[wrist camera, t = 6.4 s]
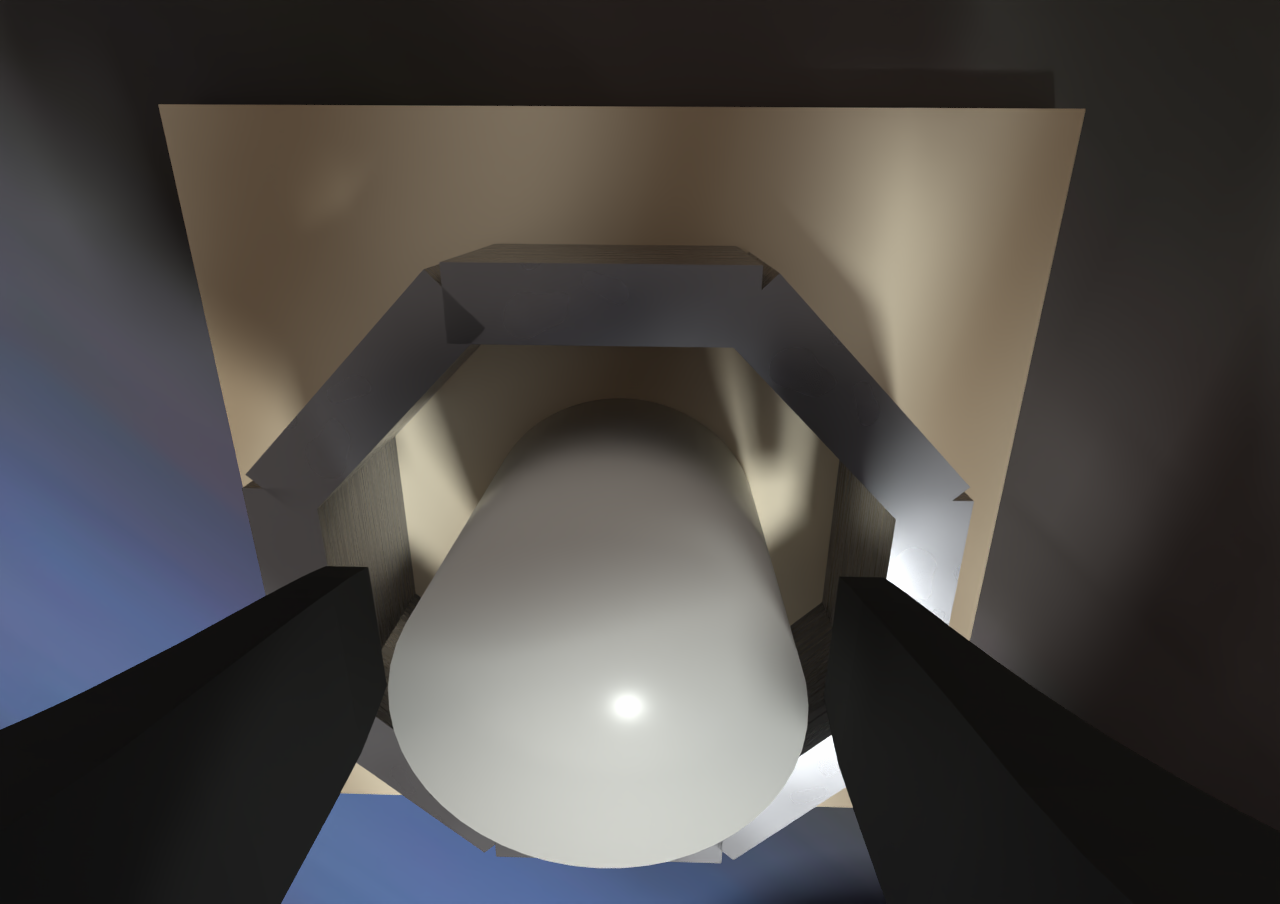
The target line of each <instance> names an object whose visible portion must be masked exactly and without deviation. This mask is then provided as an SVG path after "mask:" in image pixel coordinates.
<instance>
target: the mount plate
mask: <svg viewBox="0 0 1280 904" xmlns="http://www.w3.org/2000/svg"><path fill="white" fill-rule="evenodd" d="M158 106H159V110H160V115H161V119H162V124H163V128H164V133H165V137H166V142H167V146H168V151H169V155H170V160H171V164H172V169H173V173H174V178H175V182H176V187H177V191H178V196H179V200H180V205H181V209H182V214H183V218H184V223H185V227H186V232H187V236H188V241H189V245H190V250H191V254H192V259H193V263H194V268H195V272H196V277H197V281H198V286H199V290H200V295H201V299H202V304H203V308H204V313H205V317H206V322H207V326H208V331H209V335H210V340H211V344H212V349H213V353H214V358H215V362H216V367H217V371H218V376H219V380H220V385H221V389H222V394H223V398H224V403H225V407H226V412H227V416H228V421H229V425H230V430H231V434H232V439H233V443H234V448H235V452H236V457H237V461H238V466H239V470H240V475H241V479H242V484H243V487H244V486H246V485H247V484H249V483H250V482H251V481H253V480H251V479H250V478H249V477H248V476H246V475H245V474H246V473H247V472H248V471H249V470H250V469H251V467H252V466H253V465H254V464H255V463H256V462H257V461H258V459H259V458H260V457H261V456H262V455H263V454H264V452H265V451H266V450H267V449H268V448H269V447H270V446H271V444H272V443H273V442H274V441H275V440H276V439H277V437H278V436H279V435H280V434H281V433H282V432H283V431H284V429H285V428H286V427H287V426H288V425H289V424H290V422H291V421H292V420H293V419H294V418H295V417H296V416H297V414H298V413H299V412H300V411H301V410H302V409H303V408H304V406H305V405H306V404H307V403H308V402H309V401H310V399H311V398H312V397H313V396H314V395H315V394H316V393H317V391H318V390H319V389H320V388H321V387H322V386H323V384H324V383H325V382H326V381H327V380H328V379H329V378H330V376H331V375H332V374H333V373H334V372H335V371H336V369H337V368H338V367H339V366H340V365H341V364H342V363H343V361H344V360H345V359H346V358H347V357H348V356H349V355H350V353H351V352H352V351H353V350H354V349H355V348H356V346H357V345H358V344H359V343H360V342H361V341H362V340H363V338H364V337H365V336H366V335H367V334H368V333H369V331H370V330H371V329H372V328H373V327H374V326H375V325H376V323H377V322H378V321H379V320H380V319H381V318H382V316H383V315H384V314H385V313H386V312H387V311H388V310H389V308H390V307H391V306H392V305H393V304H394V303H395V301H396V300H397V299H398V298H399V297H400V296H401V295H402V293H403V292H404V291H405V290H406V289H407V288H408V287H409V285H410V284H411V283H412V282H413V281H414V280H415V278H416V277H417V276H418V275H419V274H420V273H421V272H422V270H423V269H426V268H429V267H432V266H435V265H438V264H439V262H441V261H444V260H447V259H450V258H453V257H456V256H459V255H463V254H466V253H469V252H472V251H475V250H478V249H481V248H484V247H487V246H490V245H493V244H585V245H691V246H737V247H739V248H740V249H742V250H743V251H744V252H746V253H748V252H750V253H752V254H753V255H755V256H756V257H757V258H759V259H760V260H762V261H763V262H765V263H766V264H767V265H769V266H770V267H772V268H773V269H775V270H776V271H777V272H779V273H780V274H781V275H782V276H783V277H784V278H785V280H786V281H787V282H788V283H789V284H790V285H791V286H792V287H793V289H794V290H795V291H796V292H797V293H798V294H799V295H800V296H801V298H802V299H803V300H804V301H805V302H806V303H807V304H808V305H809V307H810V308H811V309H812V310H813V311H814V312H815V313H816V314H817V316H818V317H819V318H820V319H821V320H822V321H823V322H824V323H825V325H826V326H827V327H828V328H829V329H830V330H831V331H832V332H833V334H834V335H835V336H836V337H837V338H838V339H839V340H840V341H841V343H842V344H843V345H844V346H845V347H846V348H847V349H848V350H849V352H850V353H851V354H852V355H853V356H854V357H855V358H856V359H857V360H858V362H859V363H860V364H861V365H862V366H863V367H864V368H865V369H866V371H867V372H868V373H869V374H870V375H871V376H872V377H873V378H874V380H875V381H876V382H877V383H878V384H879V385H880V386H881V387H882V389H883V390H884V391H885V392H886V393H887V394H888V395H889V396H890V398H891V399H892V400H893V401H894V402H895V403H896V404H897V405H898V407H899V408H900V409H901V410H902V411H903V412H904V413H905V414H906V416H907V417H908V418H909V419H910V420H911V421H912V422H913V423H914V425H915V426H916V427H917V428H918V429H919V430H920V431H921V432H922V434H923V435H924V436H925V437H926V438H927V439H928V440H929V441H930V443H931V444H932V445H933V446H934V447H935V448H936V449H937V450H938V452H939V453H940V454H941V455H942V456H943V457H944V458H945V459H946V461H947V462H948V463H949V464H950V465H951V466H952V467H953V468H954V470H955V471H956V472H957V473H958V474H959V475H960V476H961V477H962V479H963V480H964V481H965V482H966V483H967V484H968V485H969V486H970V488H969V489H967V490H966V491H965V493H966V494H967V495H968V496H969V497H970V498H971V499H972V500H973V501H974V504H973V509H972V514H971V519H970V524H969V529H968V533H967V538H966V543H965V548H964V553H963V558H962V563H961V568H960V573H959V578H958V583H957V588H956V593H955V598H954V602H953V607H952V612H951V617H950V622H949V626H950V627H952V628H953V629H954V630H955V631H957V632H958V633H959V634H961V635H962V636H963V637H965V638H966V639H967V640H969V641H970V637H971V633H972V628H973V623H974V619H975V614H976V610H977V605H978V600H979V596H980V591H981V587H982V582H983V578H984V573H985V568H986V564H987V559H988V555H989V550H990V545H991V541H992V536H993V532H994V527H995V523H996V518H997V513H998V509H999V504H1000V500H1001V495H1002V490H1003V486H1004V481H1005V477H1006V472H1007V468H1008V463H1009V458H1010V454H1011V449H1012V445H1013V440H1014V435H1015V431H1016V426H1017V422H1018V417H1019V413H1020V408H1021V403H1022V399H1023V394H1024V390H1025V385H1026V380H1027V376H1028V371H1029V367H1030V362H1031V358H1032V353H1033V348H1034V344H1035V339H1036V335H1037V330H1038V325H1039V321H1040V316H1041V312H1042V307H1043V303H1044V298H1045V293H1046V289H1047V284H1048V280H1049V275H1050V270H1051V266H1052V261H1053V257H1054V252H1055V248H1056V243H1057V238H1058V234H1059V229H1060V225H1061V220H1062V215H1063V211H1064V206H1065V202H1066V197H1067V193H1068V188H1069V183H1070V179H1071V174H1072V170H1073V165H1074V160H1075V156H1076V151H1077V147H1078V142H1079V138H1080V133H1081V128H1082V124H1083V119H1084V115H1085V110H1086V109H1039V108H828V107H617V106H406V105H195V104H158ZM614 398H627V399H638V400H645V401H649V402H654V403H658V404H662V405H665V406H667V407H670V408H673V409H676V410H678V411H680V412H682V413H684V414H686V415H688V416H690V417H692V418H694V419H695V420H697V421H698V422H700V423H701V424H703V425H704V426H706V427H707V428H708V429H710V430H711V431H712V432H713V433H714V434H715V435H716V436H717V437H719V438H720V439H721V440H722V441H723V442H724V444H725V445H726V446H727V447H728V448H729V449H730V451H731V452H732V453H733V454H734V456H735V457H736V459H737V461H738V462H739V464H740V465H741V467H742V469H743V471H744V473H745V475H746V478H747V480H748V482H749V485H750V488H751V492H752V495H753V499H754V502H755V506H756V509H757V513H758V516H759V520H760V523H761V527H762V530H763V534H764V537H765V541H766V544H767V548H768V551H769V555H770V558H771V562H772V565H773V568H774V572H775V575H776V579H777V582H778V586H779V589H780V593H781V596H782V600H783V603H784V607H785V610H786V614H787V617H788V621H789V624H790V626H791V625H792V624H793V623H795V622H796V621H797V620H799V619H800V618H801V617H803V616H804V615H805V614H807V613H808V612H809V611H811V610H812V609H813V608H815V607H816V606H817V605H819V604H820V603H821V602H822V599H823V591H824V583H825V574H826V566H827V558H828V550H829V541H830V533H831V525H832V517H833V508H834V500H835V492H836V484H837V475H838V467H839V459H838V458H837V457H836V456H835V455H834V453H833V452H832V451H831V450H830V449H829V448H828V447H827V446H826V445H825V444H824V443H823V442H822V441H821V440H820V439H819V438H818V437H817V435H816V434H815V433H814V432H813V431H812V430H811V429H810V428H809V427H808V426H807V425H806V424H805V423H804V422H803V421H802V420H801V419H800V417H799V416H798V415H797V414H796V413H795V412H794V411H793V410H792V409H791V408H790V407H789V406H788V405H787V404H786V403H785V402H784V401H783V400H782V398H781V397H780V396H779V395H778V394H777V393H776V392H775V391H774V390H773V389H772V388H771V387H770V386H769V385H768V384H767V383H766V382H765V380H764V379H763V378H762V377H761V376H760V375H759V374H758V373H757V372H756V371H755V370H754V369H753V368H752V367H751V366H750V365H749V364H748V362H747V361H746V360H745V359H744V358H743V357H742V356H741V355H740V354H739V353H738V352H737V351H736V350H735V349H734V348H718V347H640V346H561V345H483V344H481V345H480V346H479V347H478V348H477V350H476V351H475V352H474V353H473V354H472V355H471V356H470V357H469V358H468V359H467V360H466V361H465V362H464V363H463V364H462V365H461V367H460V368H459V369H458V370H457V371H456V372H455V373H454V374H453V375H452V376H451V377H450V378H449V379H448V380H447V381H446V383H445V384H444V385H443V386H442V387H441V388H440V389H439V390H438V391H437V392H436V393H435V394H434V395H433V396H432V397H431V399H430V400H429V401H428V402H427V403H426V404H425V405H424V406H423V407H422V408H421V409H420V410H419V411H418V412H417V413H416V414H415V416H414V417H413V418H412V419H411V420H410V421H409V422H408V423H407V424H406V425H405V426H404V427H403V428H402V429H401V430H400V432H399V433H398V434H397V435H396V436H395V438H396V446H397V454H398V461H399V469H400V477H401V484H402V492H403V500H404V507H405V515H406V523H407V530H408V538H409V546H410V553H411V561H412V569H413V576H414V584H415V592H416V594H417V595H419V596H420V597H422V596H423V594H424V592H425V591H426V589H427V587H428V586H429V584H430V582H431V581H432V579H433V577H434V576H435V574H436V572H437V571H438V569H439V567H440V566H441V564H442V562H443V561H444V559H445V557H446V556H447V554H448V552H449V551H450V549H451V548H452V546H453V544H454V543H455V541H456V539H457V538H458V536H459V534H460V533H461V531H462V529H463V528H464V526H465V524H466V523H467V521H468V519H469V518H470V516H471V514H472V513H473V511H474V509H475V508H476V506H477V504H478V503H479V501H480V500H481V498H482V496H483V495H484V493H485V491H486V490H487V488H488V486H489V485H490V483H491V481H492V480H493V478H494V476H495V475H496V473H497V471H498V470H499V468H500V466H501V465H502V463H503V461H504V460H505V458H506V457H507V455H508V454H509V452H510V451H511V450H512V448H513V447H514V446H515V444H516V443H517V442H518V441H519V440H520V439H521V438H522V437H523V436H524V435H525V434H526V433H527V432H528V431H529V430H531V429H532V428H533V427H534V426H535V425H537V424H538V423H539V422H541V421H543V420H544V419H546V418H548V417H549V416H551V415H552V414H554V413H557V412H559V411H561V410H563V409H566V408H568V407H571V406H574V405H577V404H581V403H584V402H588V401H594V400H601V399H614ZM341 793H353V794H389V795H402V794H400V793H399V792H397V791H396V790H395V789H393V788H392V787H390V786H389V785H387V784H386V783H385V782H383V781H382V780H380V779H379V778H377V777H376V776H375V775H373V774H372V773H370V772H369V771H367V770H366V769H365V768H363V767H362V766H360V765H359V764H358V763H356V764H355V766H354V768H353V770H352V772H351V774H350V776H349V778H348V780H347V782H346V783H345V785H344V787H343V789H342V791H341ZM816 807H852V808H853V806H852V803H851V800H850V798H849V795H848V792H847V789H846V787H845V788H844V789H842V790H841V791H839V792H837V793H836V794H834V795H833V796H831V797H830V798H828V799H827V800H825V801H824V802H822V803H821V804H819V805H817V806H816Z"/></svg>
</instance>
